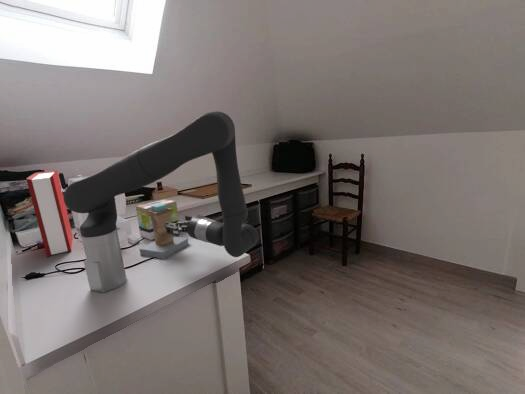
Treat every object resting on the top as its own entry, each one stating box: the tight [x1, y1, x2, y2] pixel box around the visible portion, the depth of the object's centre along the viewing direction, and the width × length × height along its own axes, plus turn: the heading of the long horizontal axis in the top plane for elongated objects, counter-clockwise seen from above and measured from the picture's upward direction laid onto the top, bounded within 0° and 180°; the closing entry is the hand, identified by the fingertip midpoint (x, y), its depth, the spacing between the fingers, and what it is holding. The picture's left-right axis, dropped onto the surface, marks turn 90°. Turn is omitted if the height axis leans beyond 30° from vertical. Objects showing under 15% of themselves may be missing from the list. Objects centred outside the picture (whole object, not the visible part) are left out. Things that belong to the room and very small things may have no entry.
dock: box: [139, 236, 189, 260], centre depth 108 cm, size 14×12×2 cm
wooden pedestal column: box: [147, 208, 174, 247], centre depth 106 cm, size 6×6×14 cm
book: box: [25, 170, 73, 258], centre depth 118 cm, size 27×8×32 cm, turn 34°
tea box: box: [135, 199, 180, 241], centre depth 126 cm, size 15×10×15 cm
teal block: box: [151, 204, 167, 213], centre depth 105 cm, size 4×4×3 cm
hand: (176, 221), depth 99 cm, fingers open, 8 cm apart
